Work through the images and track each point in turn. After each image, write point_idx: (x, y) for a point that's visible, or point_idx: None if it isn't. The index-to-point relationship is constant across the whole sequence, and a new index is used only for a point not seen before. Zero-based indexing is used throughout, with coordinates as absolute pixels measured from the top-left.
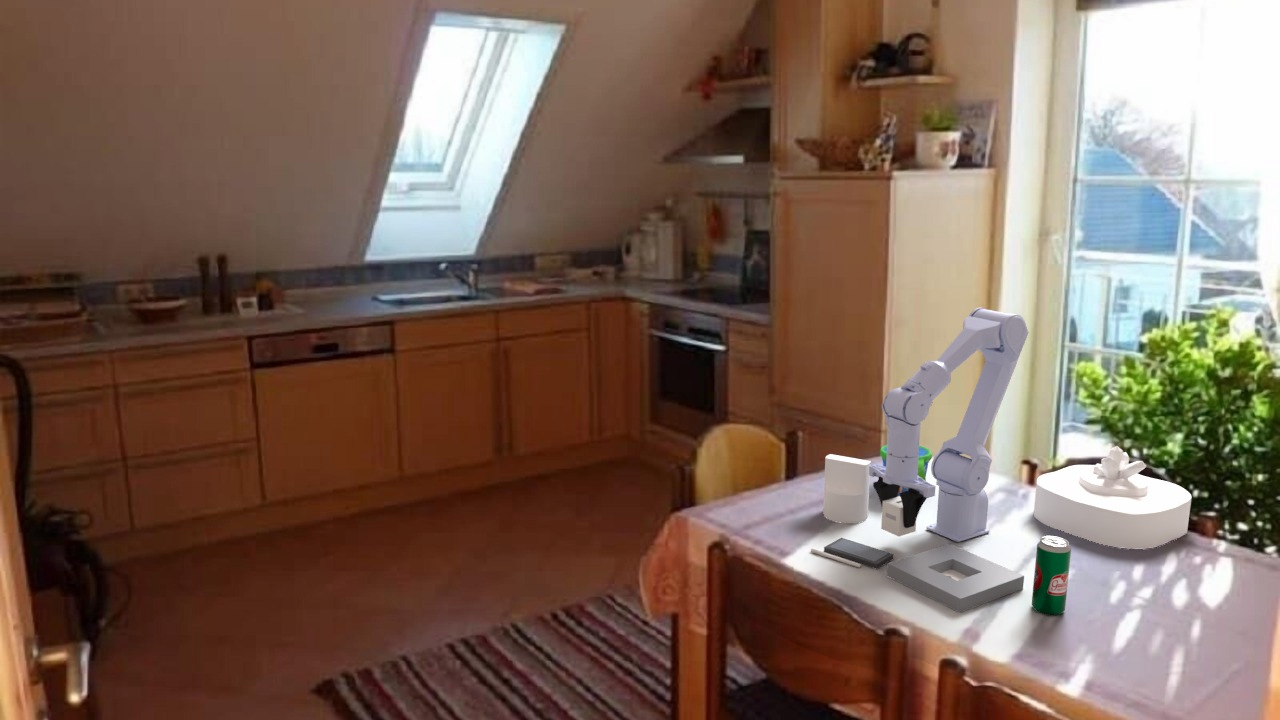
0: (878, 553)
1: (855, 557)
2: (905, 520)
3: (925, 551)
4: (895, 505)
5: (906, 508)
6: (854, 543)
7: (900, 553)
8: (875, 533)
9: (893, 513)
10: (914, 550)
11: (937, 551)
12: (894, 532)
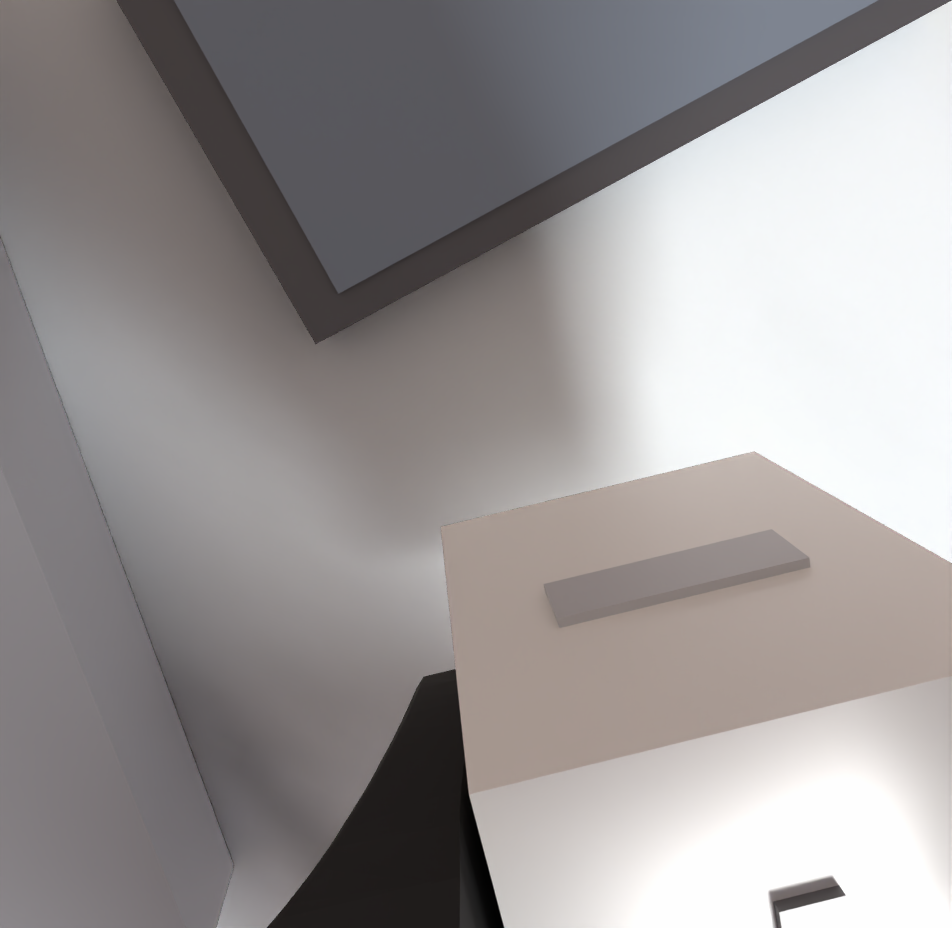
0: (368, 163)
1: None
2: (414, 724)
3: (67, 638)
4: (677, 775)
5: (330, 905)
6: (738, 39)
7: (428, 489)
8: (941, 523)
9: (636, 635)
10: (446, 654)
11: (36, 760)
12: (526, 518)
